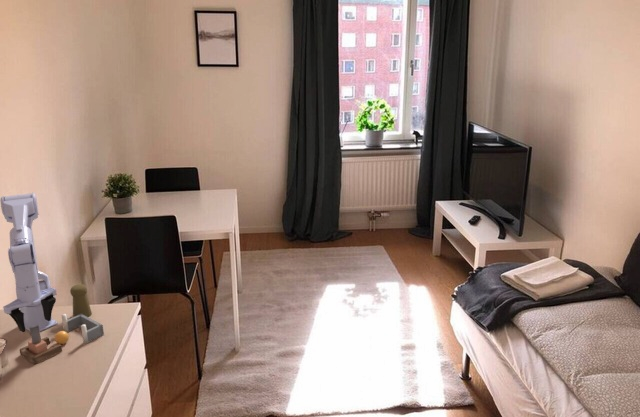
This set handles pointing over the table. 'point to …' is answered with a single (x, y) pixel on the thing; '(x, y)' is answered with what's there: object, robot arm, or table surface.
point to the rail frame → (42, 355)
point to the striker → (36, 341)
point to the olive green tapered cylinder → (80, 301)
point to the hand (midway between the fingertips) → (35, 325)
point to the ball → (61, 337)
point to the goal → (83, 326)
